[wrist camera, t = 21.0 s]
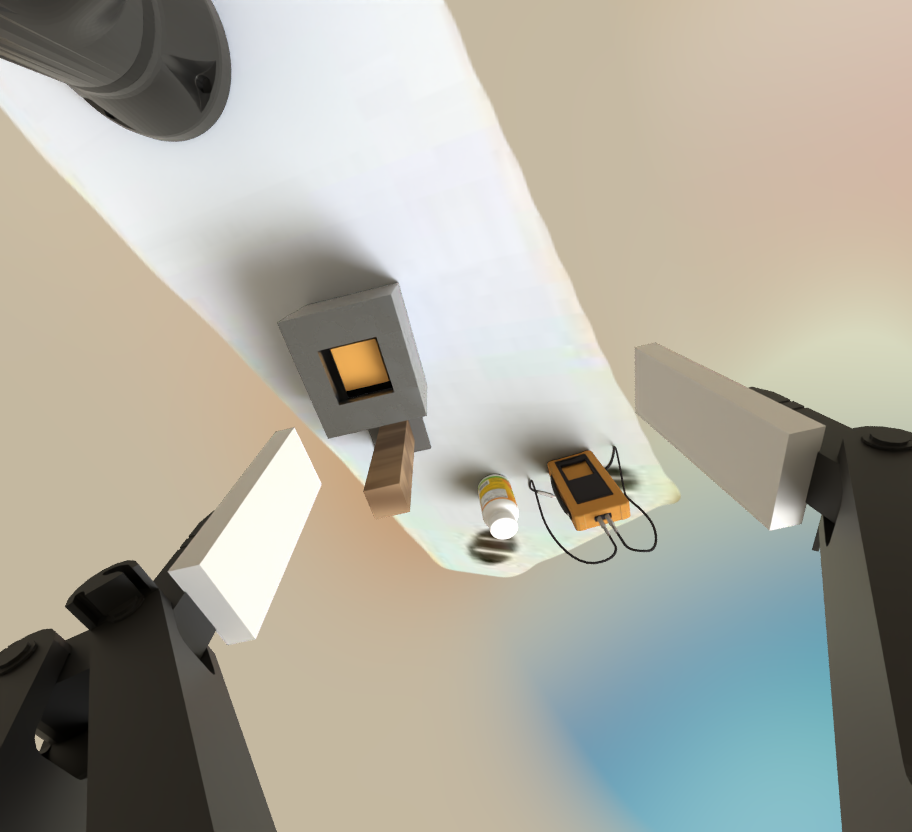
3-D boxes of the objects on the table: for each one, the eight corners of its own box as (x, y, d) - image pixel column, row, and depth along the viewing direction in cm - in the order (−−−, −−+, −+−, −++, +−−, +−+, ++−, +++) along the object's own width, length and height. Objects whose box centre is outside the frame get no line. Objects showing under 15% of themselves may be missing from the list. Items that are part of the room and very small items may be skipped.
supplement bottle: (509, 498, 63) (522, 541, 54) (477, 501, 63) (485, 545, 54) (510, 472, 60) (523, 512, 52) (476, 474, 60) (484, 515, 52)
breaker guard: (305, 305, 47) (277, 322, 38) (398, 282, 47) (391, 294, 38) (345, 403, 53) (328, 438, 44) (427, 384, 53) (426, 415, 44)
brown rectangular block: (380, 423, 55) (363, 491, 40) (407, 417, 54) (399, 483, 40) (388, 446, 56) (375, 519, 42) (414, 440, 56) (409, 511, 42)
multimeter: (535, 513, 65) (576, 621, 47) (523, 467, 60) (563, 567, 42) (620, 490, 64) (695, 591, 46) (613, 441, 59) (694, 532, 41)
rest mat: (363, 413, 54) (362, 414, 54) (417, 400, 54) (416, 401, 54) (380, 458, 58) (380, 460, 57) (431, 446, 57) (431, 448, 57)
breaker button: (342, 335, 48) (330, 349, 42) (381, 325, 48) (375, 338, 42) (355, 373, 50) (346, 391, 44) (393, 364, 50) (389, 381, 44)
